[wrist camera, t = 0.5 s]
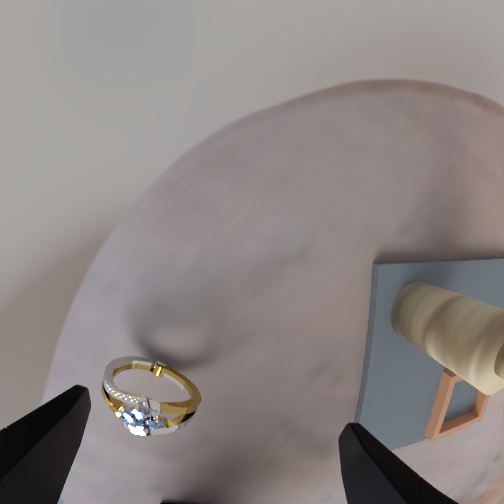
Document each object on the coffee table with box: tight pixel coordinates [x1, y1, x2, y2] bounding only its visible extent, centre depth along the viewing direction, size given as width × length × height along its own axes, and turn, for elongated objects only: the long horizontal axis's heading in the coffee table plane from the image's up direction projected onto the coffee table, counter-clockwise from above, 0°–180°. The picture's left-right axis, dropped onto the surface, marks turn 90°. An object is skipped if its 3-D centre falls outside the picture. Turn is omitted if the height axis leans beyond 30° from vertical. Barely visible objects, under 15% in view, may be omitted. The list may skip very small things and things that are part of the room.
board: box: [355, 257, 504, 450], centre depth 24 cm, size 20×18×2 cm
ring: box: [101, 356, 201, 435], centre depth 19 cm, size 7×3×8 cm, turn 65°
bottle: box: [391, 281, 504, 395], centre depth 17 cm, size 5×5×12 cm
